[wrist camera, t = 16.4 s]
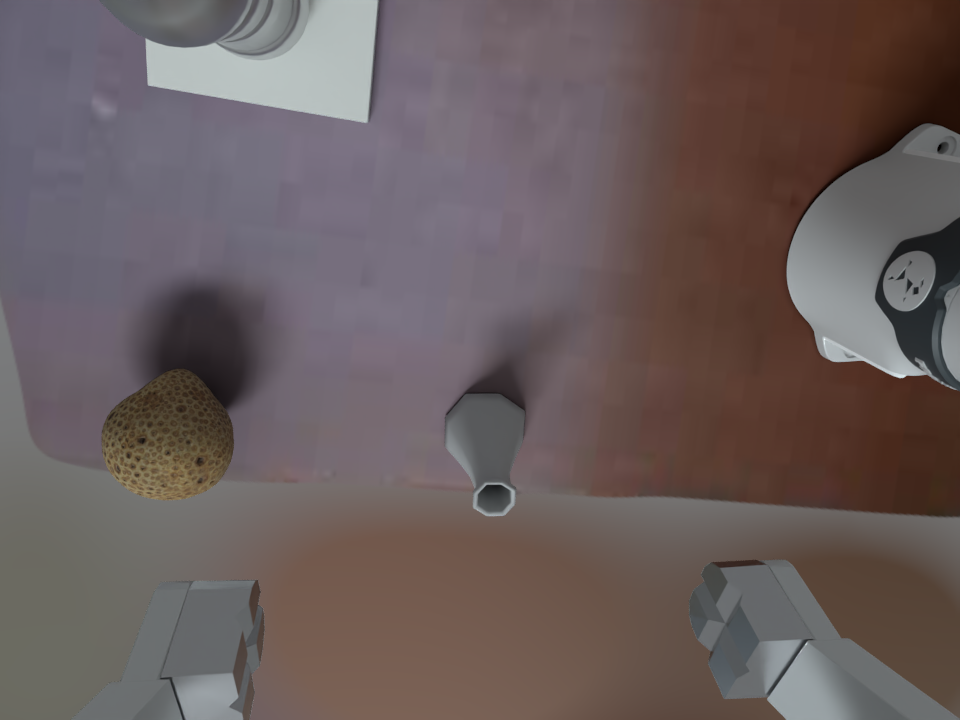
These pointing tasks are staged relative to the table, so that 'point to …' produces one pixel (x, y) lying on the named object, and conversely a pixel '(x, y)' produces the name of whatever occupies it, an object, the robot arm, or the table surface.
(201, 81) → the bottle pad
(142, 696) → the robot arm
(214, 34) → the plastic bottle
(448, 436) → the flask
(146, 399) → the natural sponge
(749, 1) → the table surface
